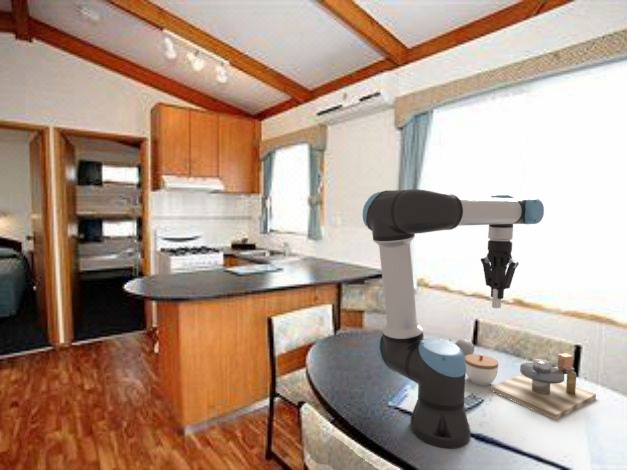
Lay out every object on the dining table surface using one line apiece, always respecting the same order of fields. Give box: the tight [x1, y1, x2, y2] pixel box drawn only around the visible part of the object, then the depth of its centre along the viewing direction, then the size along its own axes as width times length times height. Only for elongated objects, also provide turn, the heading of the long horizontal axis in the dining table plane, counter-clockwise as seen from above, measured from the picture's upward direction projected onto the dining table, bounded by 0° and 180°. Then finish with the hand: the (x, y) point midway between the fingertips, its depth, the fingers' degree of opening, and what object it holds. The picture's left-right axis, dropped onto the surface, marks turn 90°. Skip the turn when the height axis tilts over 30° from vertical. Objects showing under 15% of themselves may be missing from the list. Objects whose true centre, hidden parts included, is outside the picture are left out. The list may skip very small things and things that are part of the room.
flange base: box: [490, 371, 597, 421], centre depth 120 cm, size 24×20×8 cm
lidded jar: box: [465, 353, 499, 387], centre depth 129 cm, size 11×11×9 cm
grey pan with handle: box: [519, 353, 575, 383], centre depth 120 cm, size 18×12×6 cm
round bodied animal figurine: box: [448, 338, 475, 356], centre depth 149 cm, size 7×12×8 cm, turn 66°
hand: (496, 307), depth 131 cm, fingers closed
